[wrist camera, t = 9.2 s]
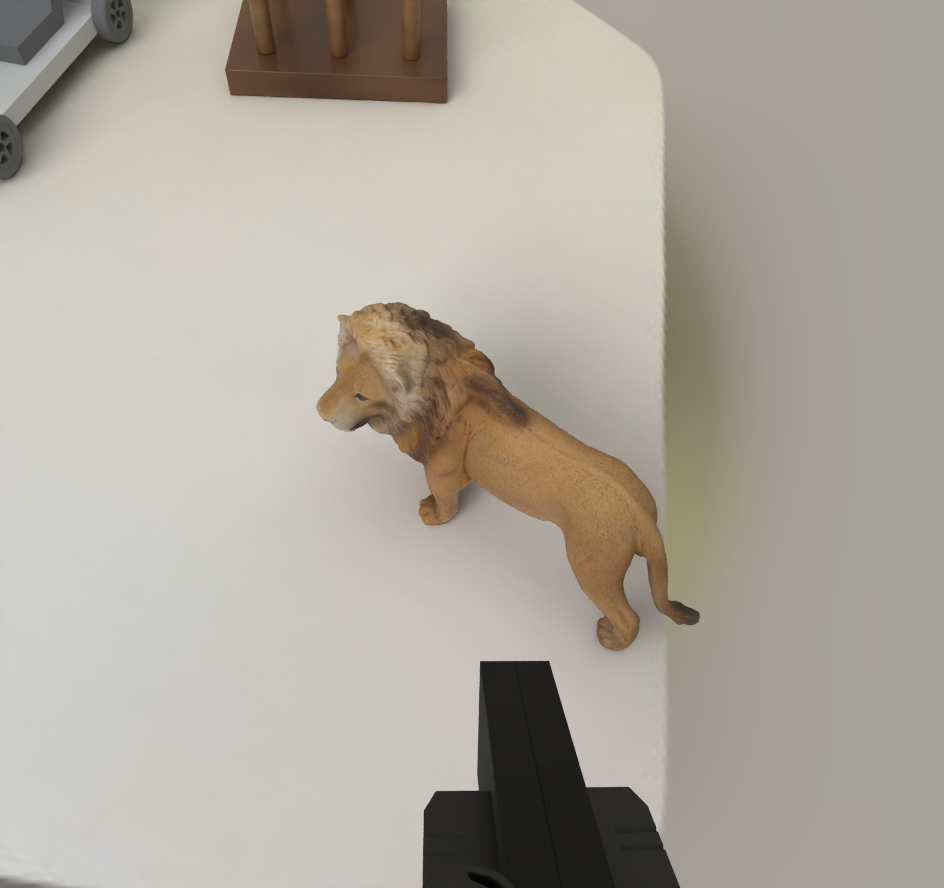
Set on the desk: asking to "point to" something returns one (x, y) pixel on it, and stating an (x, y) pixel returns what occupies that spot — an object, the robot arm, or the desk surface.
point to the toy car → (45, 54)
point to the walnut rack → (341, 49)
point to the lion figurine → (497, 452)
